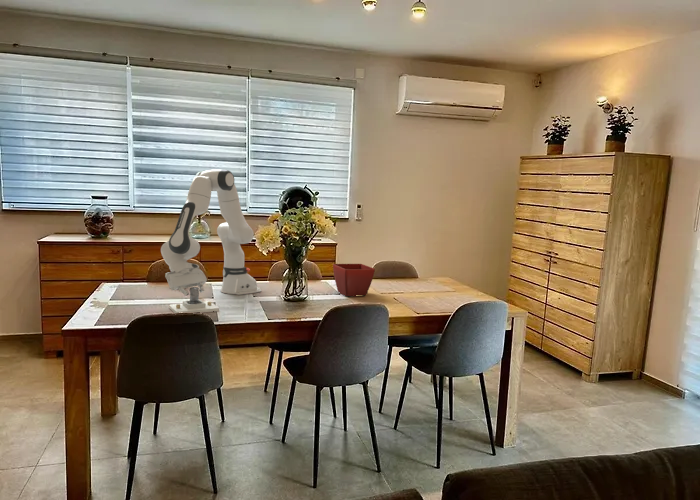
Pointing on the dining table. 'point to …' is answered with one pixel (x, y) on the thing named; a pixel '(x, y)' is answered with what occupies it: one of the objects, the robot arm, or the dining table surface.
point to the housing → (194, 307)
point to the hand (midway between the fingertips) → (195, 293)
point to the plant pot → (353, 278)
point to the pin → (194, 295)
